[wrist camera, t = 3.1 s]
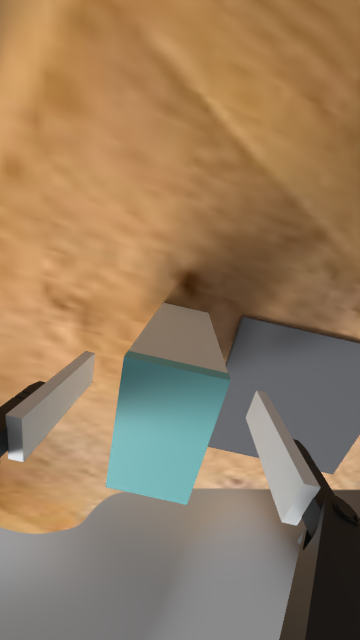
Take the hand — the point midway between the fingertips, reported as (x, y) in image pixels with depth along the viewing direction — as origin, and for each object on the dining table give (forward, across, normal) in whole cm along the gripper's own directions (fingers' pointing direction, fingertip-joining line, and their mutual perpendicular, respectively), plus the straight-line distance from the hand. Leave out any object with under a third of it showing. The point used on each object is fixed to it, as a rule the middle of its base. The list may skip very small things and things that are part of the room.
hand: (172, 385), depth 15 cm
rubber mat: (+7, +15, -4) cm, 17 cm away
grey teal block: (+7, 0, 0) cm, 7 cm away
